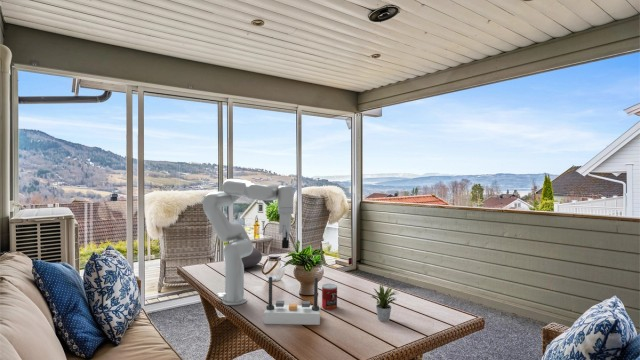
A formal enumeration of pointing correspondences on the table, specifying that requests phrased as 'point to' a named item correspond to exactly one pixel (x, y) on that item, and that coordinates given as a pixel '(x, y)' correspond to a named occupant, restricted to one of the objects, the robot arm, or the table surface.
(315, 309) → the right cord
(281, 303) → the left button
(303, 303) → the right button
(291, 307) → the middle button
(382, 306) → the house plant
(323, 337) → the table surface
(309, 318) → the strip
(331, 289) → the canned food
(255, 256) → the flattened ellipsoid
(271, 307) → the left cord
